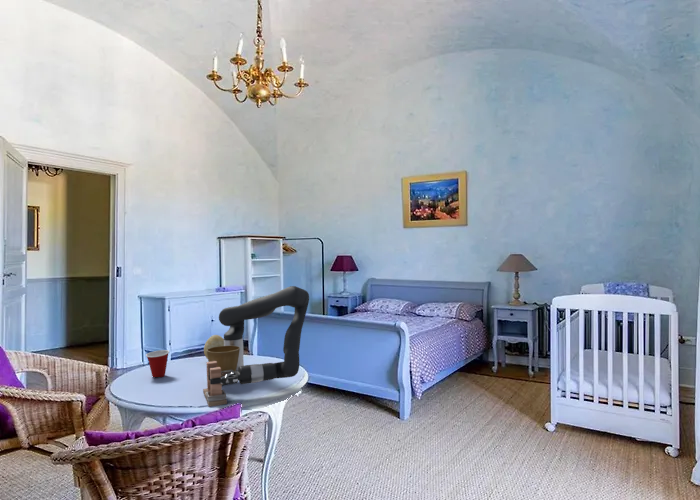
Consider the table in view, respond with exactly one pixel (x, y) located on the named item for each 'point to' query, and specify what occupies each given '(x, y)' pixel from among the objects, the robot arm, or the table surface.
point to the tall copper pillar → (215, 388)
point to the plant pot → (224, 357)
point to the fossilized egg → (213, 343)
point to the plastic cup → (158, 362)
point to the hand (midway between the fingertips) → (209, 379)
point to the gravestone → (210, 399)
